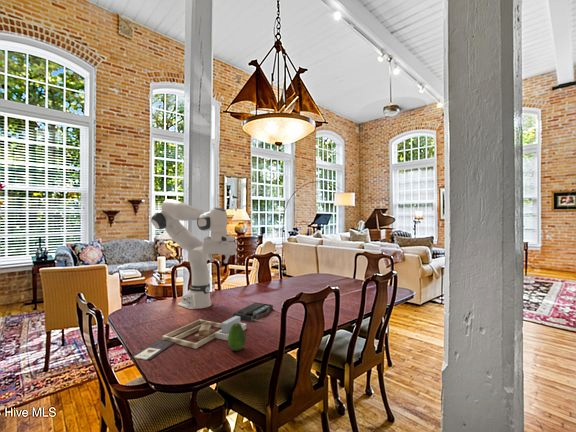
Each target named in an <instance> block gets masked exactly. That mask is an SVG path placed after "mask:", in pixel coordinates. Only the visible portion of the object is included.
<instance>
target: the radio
mask: <svg viewBox="0 0 576 432" xmlns="http://www.w3.org/2000/svg"><path fill="white" fill-rule="evenodd" d="M272 310H274V304H268V303H261V302H253V303H252V304H249V305H247V306H245V307H243V308H241V309H239V310H237V311H235V312H232V317H234V316H240V321H245V322H246V321H247V322H253V321H255V322H261V323H262V322H264V320H260V319H259V318H264V317H266V316H267V315H268V314H269V313H270V312H271V311H272Z"/></svg>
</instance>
